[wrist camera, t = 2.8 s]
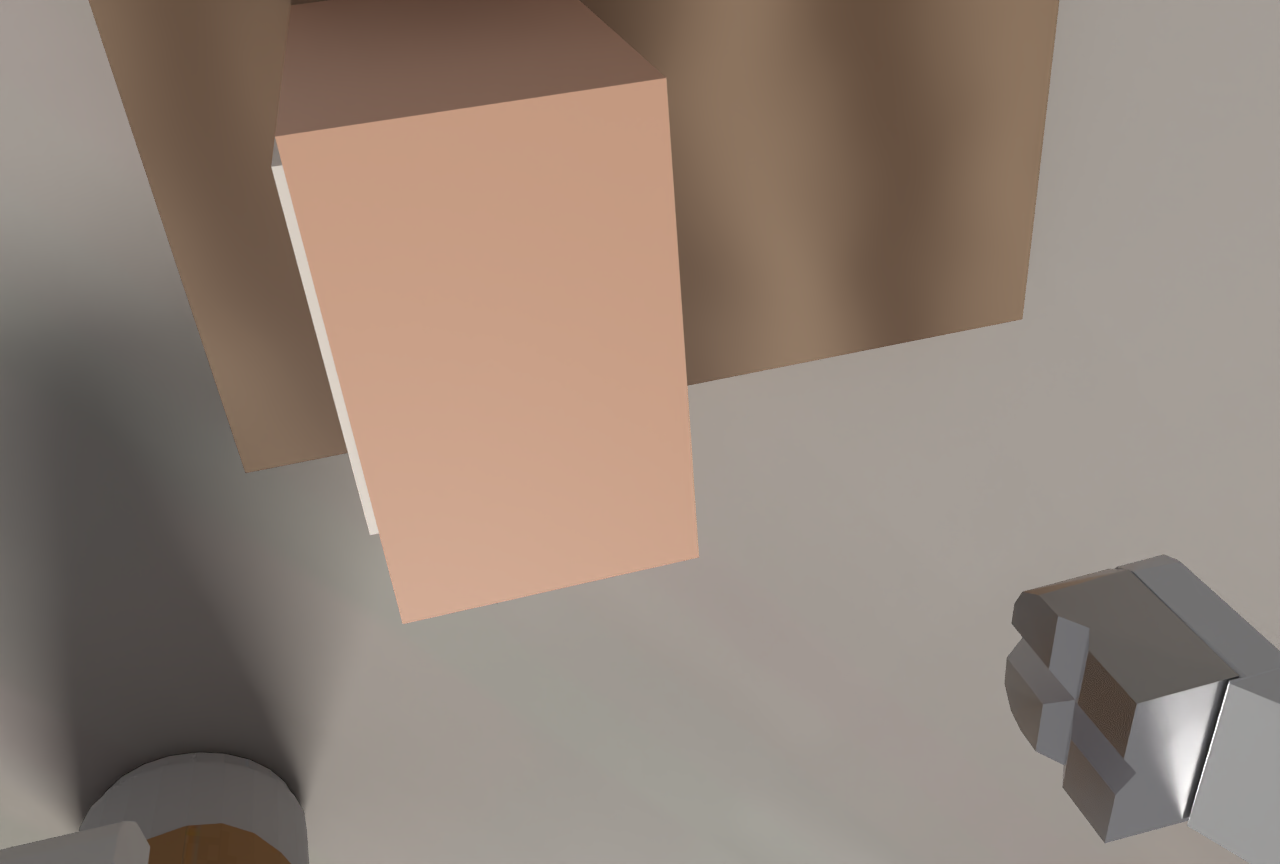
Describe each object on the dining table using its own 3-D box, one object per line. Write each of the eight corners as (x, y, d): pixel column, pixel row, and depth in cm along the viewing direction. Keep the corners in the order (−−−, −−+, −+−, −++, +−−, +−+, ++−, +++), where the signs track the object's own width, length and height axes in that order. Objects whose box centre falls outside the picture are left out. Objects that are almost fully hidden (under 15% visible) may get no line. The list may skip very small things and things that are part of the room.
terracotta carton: (547, -29, 22) (666, 77, 14) (589, 330, 26) (699, 557, 19) (274, 7, 21) (249, 140, 13) (364, 373, 25) (383, 628, 18)
